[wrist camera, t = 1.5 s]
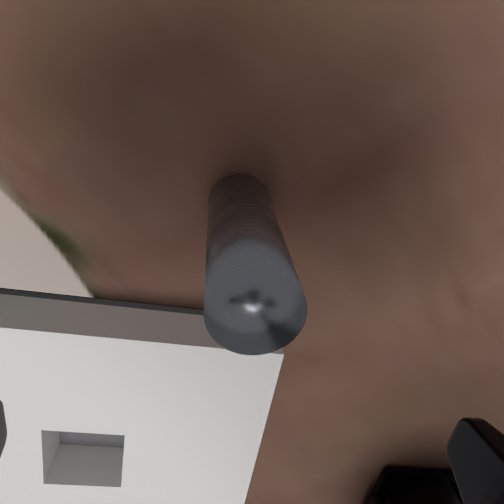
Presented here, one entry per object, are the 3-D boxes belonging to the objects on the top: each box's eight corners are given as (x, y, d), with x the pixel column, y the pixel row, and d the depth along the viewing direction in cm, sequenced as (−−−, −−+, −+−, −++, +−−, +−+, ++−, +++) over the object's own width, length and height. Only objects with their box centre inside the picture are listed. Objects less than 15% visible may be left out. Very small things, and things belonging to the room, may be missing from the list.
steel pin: (274, 179, 19) (318, 275, 11) (262, 235, 20) (294, 359, 12) (213, 169, 18) (211, 261, 10) (205, 227, 20) (197, 350, 12)
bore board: (275, 317, 22) (283, 354, 19) (229, 507, 29) (230, 554, 26) (-96, 277, 20) (-146, 313, 17) (-53, 496, 26) (-84, 547, 24)
